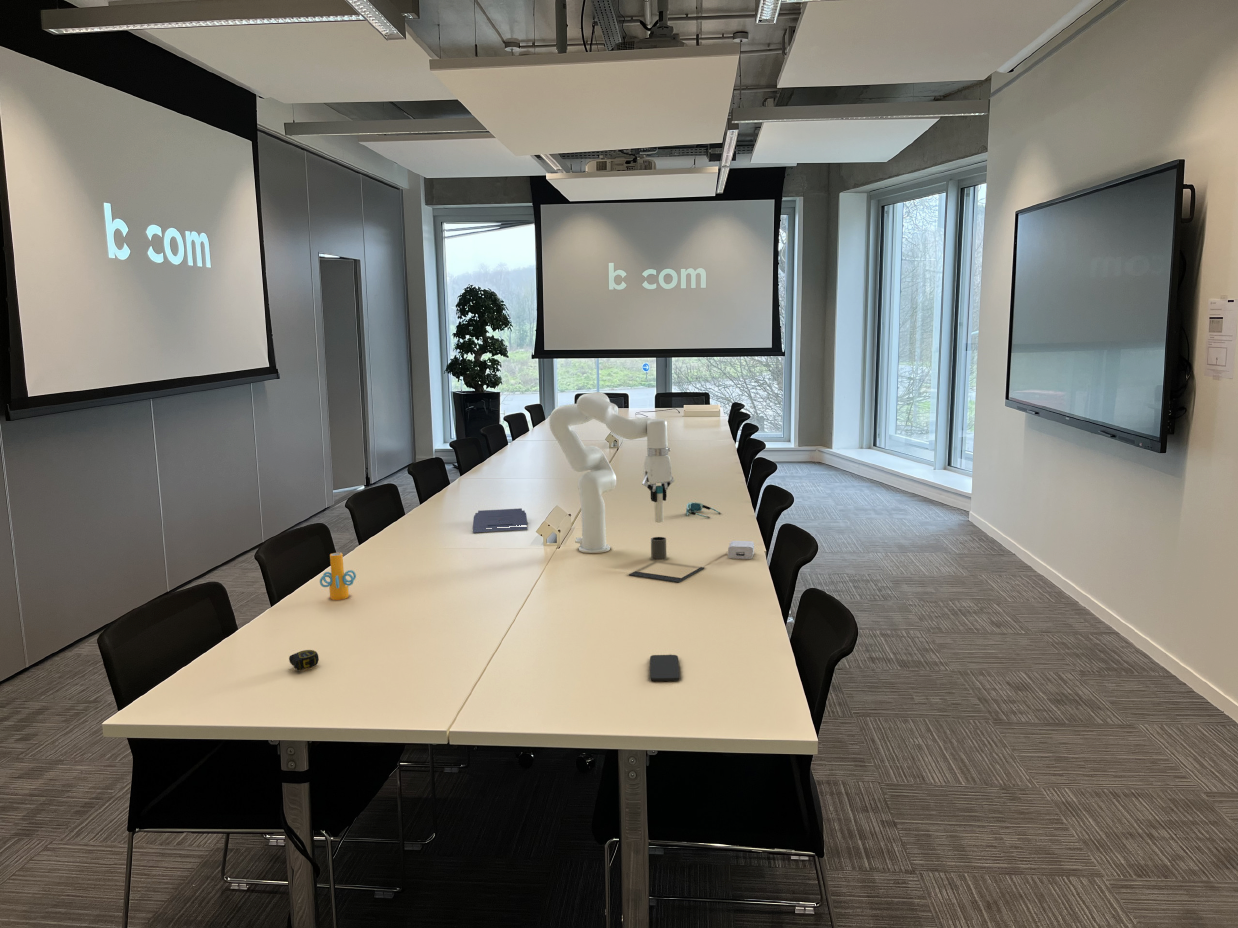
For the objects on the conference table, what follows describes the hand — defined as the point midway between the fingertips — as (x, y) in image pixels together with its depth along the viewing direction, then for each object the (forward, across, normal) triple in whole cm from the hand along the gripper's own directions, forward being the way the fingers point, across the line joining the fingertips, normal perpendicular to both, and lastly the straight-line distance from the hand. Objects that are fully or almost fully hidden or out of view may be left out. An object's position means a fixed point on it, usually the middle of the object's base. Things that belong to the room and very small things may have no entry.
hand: (658, 500), depth 318 cm
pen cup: (+23, -1, -2) cm, 23 cm away
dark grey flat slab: (+23, +28, -94) cm, 100 cm away
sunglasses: (+23, -59, -58) cm, 85 cm away
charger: (+23, -31, +10) cm, 40 cm away
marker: (+8, 0, 0) cm, 8 cm away
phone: (+23, +54, +90) cm, 108 cm away
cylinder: (+23, +114, -21) cm, 118 cm away
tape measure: (+23, +134, +38) cm, 142 cm away
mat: (+23, +6, +15) cm, 28 cm away
